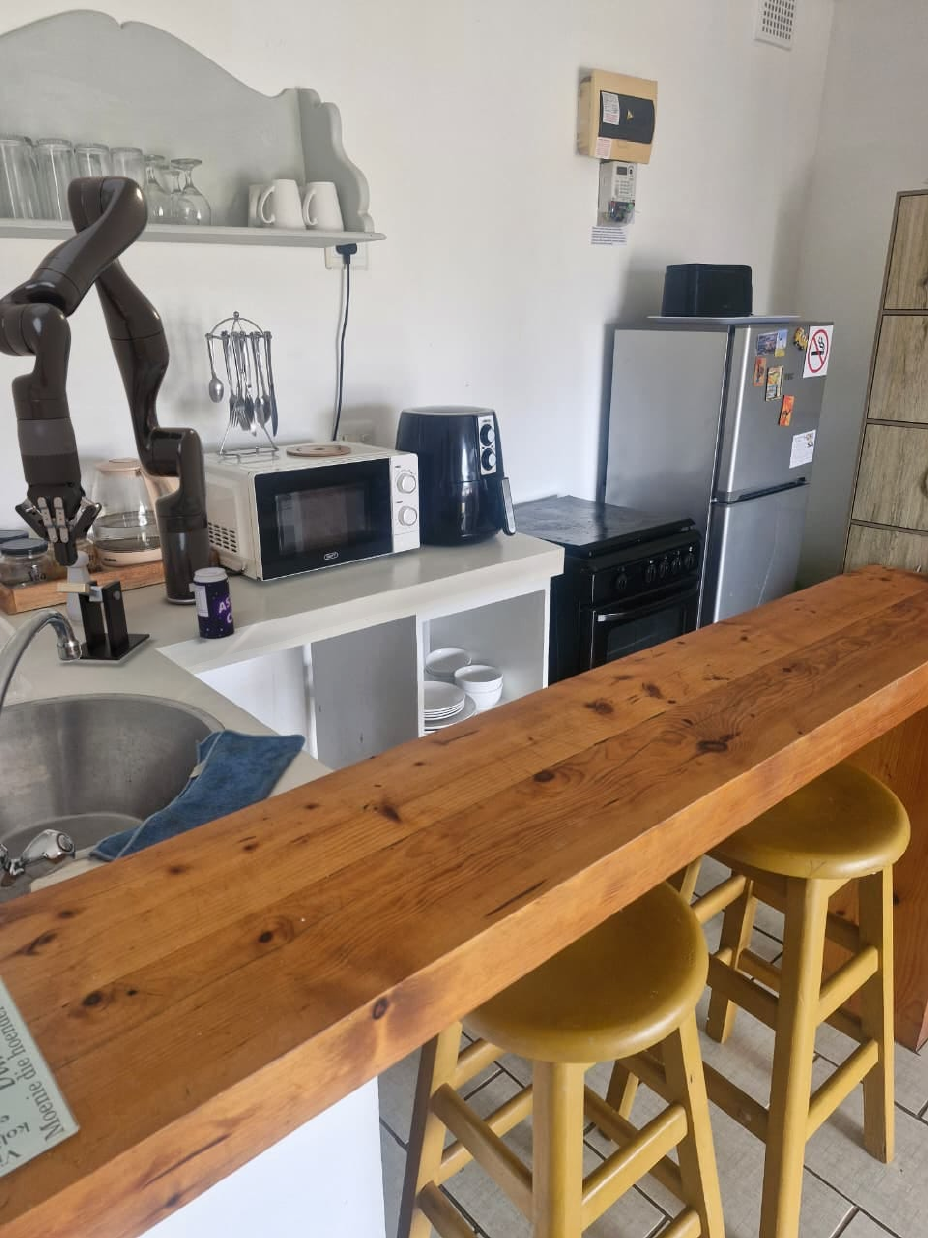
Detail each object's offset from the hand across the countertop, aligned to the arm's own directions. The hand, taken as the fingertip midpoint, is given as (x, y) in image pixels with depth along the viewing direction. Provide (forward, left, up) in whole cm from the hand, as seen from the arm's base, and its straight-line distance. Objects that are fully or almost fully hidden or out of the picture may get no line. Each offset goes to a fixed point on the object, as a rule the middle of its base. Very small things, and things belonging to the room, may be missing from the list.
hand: (68, 564), depth 131 cm
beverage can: (-16, +15, -17) cm, 28 cm away
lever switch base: (-8, 0, -17) cm, 19 cm away
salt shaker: (-23, -13, -17) cm, 31 cm away
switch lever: (-4, 0, -7) cm, 8 cm away
